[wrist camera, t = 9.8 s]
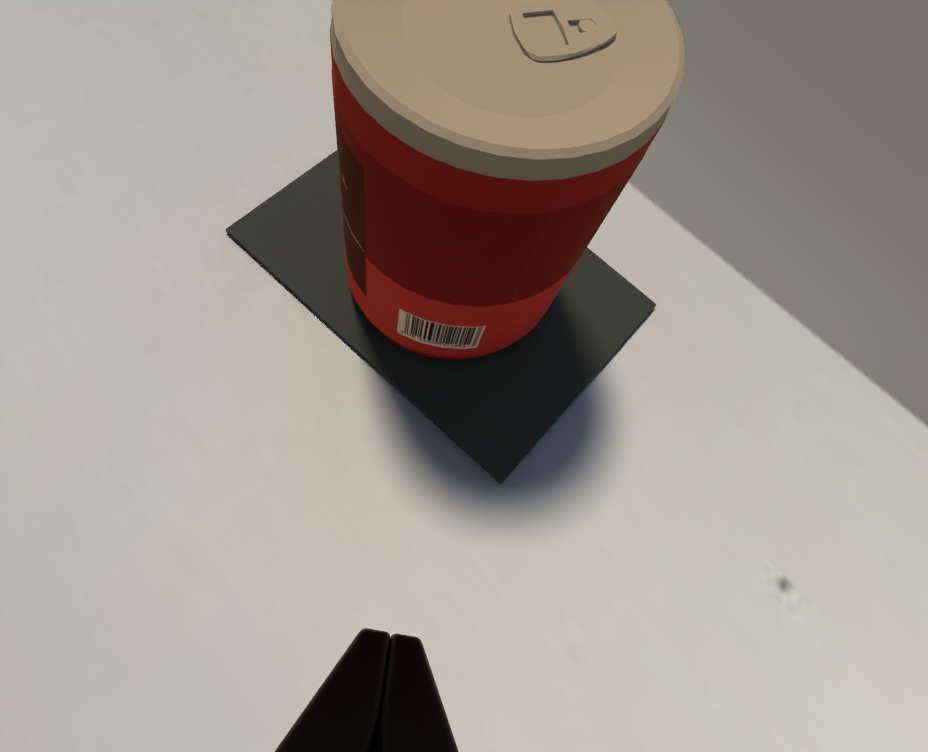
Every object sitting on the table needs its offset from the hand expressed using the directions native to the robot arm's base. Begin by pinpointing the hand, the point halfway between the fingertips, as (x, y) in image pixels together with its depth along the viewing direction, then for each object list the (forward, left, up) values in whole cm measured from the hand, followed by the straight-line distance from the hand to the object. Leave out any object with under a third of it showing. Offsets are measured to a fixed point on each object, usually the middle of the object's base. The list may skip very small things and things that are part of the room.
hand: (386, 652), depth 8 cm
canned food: (+4, +12, -11) cm, 17 cm away
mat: (+4, +12, -11) cm, 17 cm away
